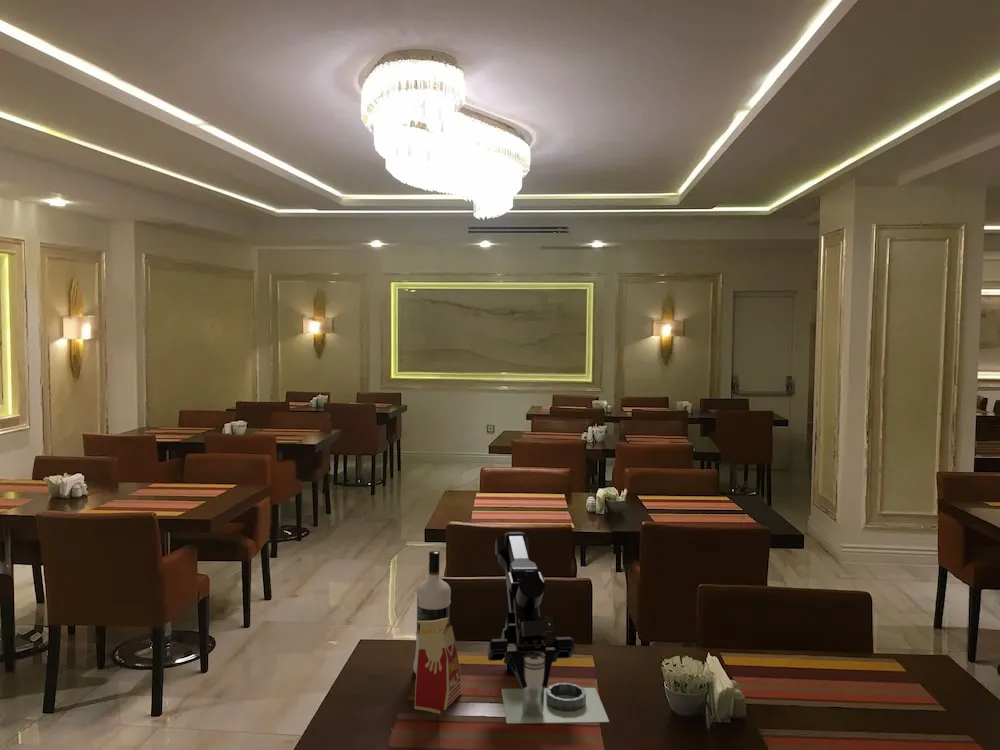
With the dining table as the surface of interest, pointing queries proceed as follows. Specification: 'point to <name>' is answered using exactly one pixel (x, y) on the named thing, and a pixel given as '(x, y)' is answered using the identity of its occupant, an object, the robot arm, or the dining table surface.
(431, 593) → the vodka
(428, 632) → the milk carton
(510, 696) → the plate
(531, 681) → the silver upright cylinder
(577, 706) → the ring collar
